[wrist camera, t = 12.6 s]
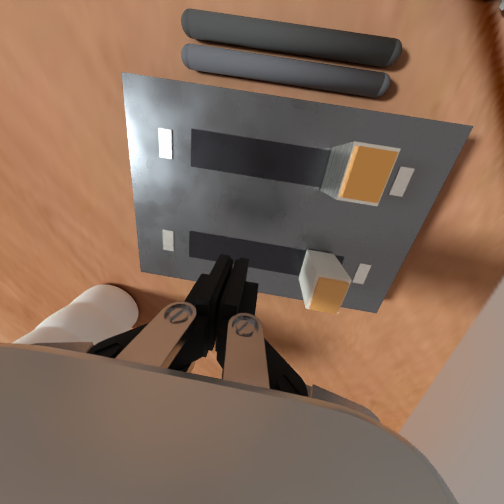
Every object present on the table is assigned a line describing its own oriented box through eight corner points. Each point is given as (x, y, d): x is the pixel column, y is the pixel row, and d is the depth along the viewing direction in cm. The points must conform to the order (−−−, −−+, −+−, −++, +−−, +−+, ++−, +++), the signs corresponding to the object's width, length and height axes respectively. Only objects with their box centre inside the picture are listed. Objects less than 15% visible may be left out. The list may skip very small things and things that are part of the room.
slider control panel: (146, 87, 17) (51, 29, 9) (439, 132, 16) (572, 107, 9) (156, 258, 23) (105, 301, 16) (363, 295, 23) (406, 355, 16)
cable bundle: (186, 15, 15) (177, 1, 13) (398, 46, 14) (410, 34, 13) (185, 71, 16) (178, 63, 15) (379, 101, 16) (389, 95, 14)
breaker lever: (306, 249, 18) (317, 276, 13) (334, 254, 18) (353, 282, 13) (298, 278, 19) (306, 311, 15) (324, 282, 19) (338, 316, 15)
